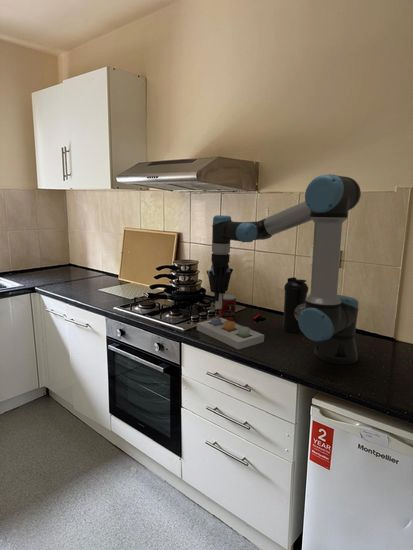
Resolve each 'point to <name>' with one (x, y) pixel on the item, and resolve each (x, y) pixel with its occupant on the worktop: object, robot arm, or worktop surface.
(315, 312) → the robot arm
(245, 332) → the button sage
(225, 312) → the canned food
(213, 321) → the button slate
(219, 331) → the console
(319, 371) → the worktop surface
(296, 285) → the water bottle
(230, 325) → the button orange
